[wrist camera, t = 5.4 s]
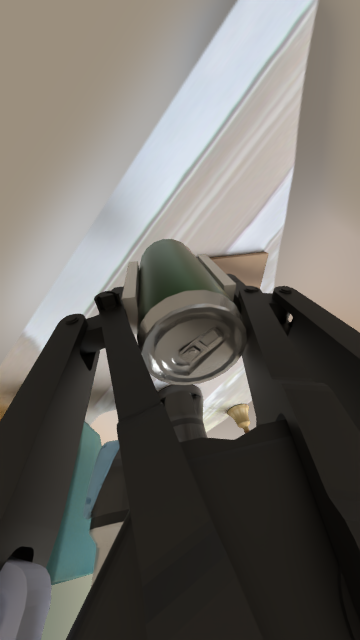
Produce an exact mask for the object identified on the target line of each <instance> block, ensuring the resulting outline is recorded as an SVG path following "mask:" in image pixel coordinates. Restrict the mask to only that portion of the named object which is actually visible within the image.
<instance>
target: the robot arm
mask: <svg viewBox="0 0 360 640" xmlns="http://www.w3.org/2000/svg"><path fill="white" fill-rule="evenodd" d="M198 260H199V261H200V263H201V264H202V265H203V266H204V267H205V269H206V270H207V271H208V272H209V273H210V275H211V276H212V277H213V278H214V279H215V281H216V282H217V283H218V284H219V285H220V287H221V288H222V289H223V290H224V291H225V293H226V294H227V295H228V296H229V298H230V299H231V300H232V301H233V302H234V304H235V305H236V307H237V309H238V311H239V312H240V314H241V321H242V323H243V325H244V327H245V328H246V335H247V343H246V346H245V349H244V352H243V354H242V358H243V362H244V367H245V371H246V375H247V379H248V384H249V388H250V392H251V396H252V401H253V405H254V409H255V413H256V420H257V422H256V427H255V428H254V429H252V430H251V431H249V432H247V433H246V434H244V435H242V436H241V437H239V438H237V439H235V440H227V439H216V438H207V435H206V431H205V428H204V424H203V396H202V393H201V390H200V389H199V388H198V387H196V386H194V385H172V386H169V387H166V388H164V389H162V390H160V391H159V392H158V393H157V391H156V389H155V386H154V384H153V381H152V379H151V376H150V374H149V371H148V369H147V366H146V364H145V361H144V359H143V356H142V354H141V351H140V349H139V347H138V344H137V342H136V339H135V337H134V334H137V322H138V297H139V272H140V271H139V266H138V261H137V262H129V264H128V269H127V274H126V279H125V284H124V287H117V288H114V289H113V290H112V291H105V292H102V293H100V294H98V295H96V296H95V298H94V300H95V303H96V305H97V308H98V310H99V315H97V316H94V317H91V318H88V319H86V318H85V316H84V315H83V314H73V315H69V316H66V317H65V318H63V319H62V320H61V321H60V322H59V323H58V325H57V327H56V328H55V330H54V332H53V333H52V335H51V337H50V338H49V340H48V342H47V343H46V345H45V347H44V348H43V350H42V352H41V354H40V355H39V357H38V359H37V360H36V362H35V364H34V365H33V367H32V369H31V370H30V372H29V374H28V375H27V377H26V379H25V381H24V382H23V384H22V386H21V387H20V389H19V391H18V392H17V394H16V396H15V397H14V399H13V401H12V402H11V404H10V406H9V408H8V409H7V411H6V413H5V414H4V416H3V418H2V419H1V421H0V640H41V636H42V632H43V628H44V624H45V620H46V617H47V614H48V611H49V609H50V602H51V580H50V575H49V573H48V571H47V569H46V566H47V563H48V561H49V558H50V555H51V552H52V549H53V546H54V544H55V541H56V538H57V535H58V532H59V528H60V524H61V521H62V517H63V513H64V509H65V505H66V501H67V496H68V492H69V487H70V483H71V479H72V474H73V470H74V465H75V461H76V456H77V452H78V447H79V443H80V438H81V434H82V429H83V425H84V421H85V416H86V412H87V407H88V403H89V398H90V394H91V389H92V385H93V380H94V376H95V371H96V367H97V363H98V358H99V354H100V350H101V349H103V348H106V353H107V359H108V364H109V370H110V375H111V381H112V386H113V392H114V397H115V403H116V408H117V414H118V421H119V422H118V424H117V434H118V440H115V441H109V442H107V443H105V444H104V445H103V446H102V447H101V449H100V451H99V453H98V456H97V459H96V462H95V465H94V468H93V472H92V475H91V479H90V483H89V486H88V491H87V497H86V501H85V505H84V510H83V517H84V518H86V519H87V520H89V519H90V518H91V522H90V529H89V535H90V536H91V538H92V539H93V541H94V543H95V545H96V554H95V562H94V569H93V577H92V585H91V589H90V592H89V593H88V595H87V597H86V599H85V602H84V604H83V606H82V608H81V610H80V612H79V614H78V616H77V618H76V620H75V622H74V624H73V626H72V628H71V630H70V632H69V634H68V636H67V638H66V640H360V333H359V332H358V331H357V330H355V329H354V328H352V327H350V326H349V325H347V324H346V323H345V322H343V321H342V320H340V319H338V318H337V317H336V316H334V315H332V314H331V313H329V312H328V311H327V310H325V309H324V308H322V307H321V306H319V305H318V304H316V303H315V302H313V301H312V300H310V299H308V298H307V297H306V296H304V295H303V294H301V293H299V292H298V291H297V290H295V289H293V288H290V287H288V286H286V287H285V286H279V287H276V288H274V291H273V294H270V293H262V291H261V290H260V289H259V288H257V287H255V286H246V285H245V284H244V283H243V282H242V281H241V280H239V279H238V278H237V277H236V276H235V275H232V274H225V273H224V272H223V271H222V270H221V269H220V268H219V267H218V266H217V265H216V264H215V263H214V262H213V261H212V260H211V259H210V258H209V257H208V256H207V255H206V254H203V255H198ZM290 314H291V315H292V316H293V319H292V321H291V322H289V321H288V318H289V315H290Z"/></svg>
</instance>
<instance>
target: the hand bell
mask: <svg viewBox="0 0 360 640" xmlns="http://www.w3.org/2000/svg"><path fill="white" fill-rule="evenodd" d="M248 410H249V406H248V405H246V404H240V405H236V406H234V407H232V408H230V409H229V410H228V412H227V414H228V415H229V416H231V417H232V418H233V419H234V420H235V422H236V423H237V425H238V427H240V428H243V429H244V432H245V434H246V433H247V432H249V429H248V426H249V424H250V421H249V417H248Z"/></svg>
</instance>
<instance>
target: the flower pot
mask: <svg viewBox="0 0 360 640" xmlns="http://www.w3.org/2000/svg"><path fill="white" fill-rule="evenodd" d="M101 447H102V446H101V440H100V436H99V434H98V433H97V432H95V431H94V430H93V429H92V428H91V427H90V426H89V425H88V424H87V423H85V422H84V425H83V429H82V434H81V438H80V443H79V447H78V452H77V456H76V461H75V465H74V470H73V474H72V479H71V483H70V487H69V492H68V496H67V501H66V505H65V509H64V513H63V517H62V521H61V524H60V528H59V532H58V535H57V538H56V541H55V544H54V546H53V549H52V552H51V555H50V558H49V561H48V563H47V566H46V569H47V571H48V573H49V575H50V580H51V585H54V584H58V583H61V582H65V581H69V580H72V579H76V578H79V577H82V576H86V575H89V574H93V569H94V562H95V554H96V545H95V543H94V541H93V539H92V538H91V536H90V535H89V529H90V522H91V518H90V519H89V520H87V519H86V518H84V517H83V510H84V505H85V501H86V497H87V491H88V486H89V483H90V479H91V475H92V472H93V468H94V465H95V462H96V459H97V456H98V453H99V451H100V449H101Z"/></svg>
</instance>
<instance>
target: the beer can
mask: <svg viewBox="0 0 360 640" xmlns="http://www.w3.org/2000/svg"><path fill="white" fill-rule="evenodd" d="M137 341H138V347H139V349H140V351H141V354H142V356H143V359H144V361H145V364H146V366H147V369H148V371H149V373H150V374H151V375H153V376H154V377H155V378H157V379H158V380H160V381H163V382H166V383H170V384H175V385H191V384H198V383H202V382H205V381H208V380H211V379H214V378H216V377H217V376H219V375H221V374H223V373H225V372H226V371H227V370H228V369H230V368H231V367H232V366H233V365H234V364H235V363H236V362H237V361H238V359H239V358H240V357H241V355H242V354H243V352H244V349H245V346H246V343H247V335H246V328H245V327H244V325H243V323H242V321H241V314H240V312H239V311H238V309H237V307H236V305H235V304H234V302H233V301H232V300H231V299H230V298H229V296H228V295H227V294H226V293H225V291H224V290H223V289H222V288H221V287H220V285H219V284H218V283H217V282H216V281H215V279H214V278H213V277H212V276H211V275H210V273H209V272H208V271H207V270H206V269H205V267H204V266H203V265H202V264H201V263H200V261H199V260H198V259H197V258H196V257H195V255H194V254H193V253H192V252H191V250H190V249H189V248H188V247H187V246H185V245H184V244H183V243H182V242H179V241H176V240H173V239H162V240H160V241H157V242H154V243H153V244H152V245H150V246H149V247H148V248H147V249H146V250H145V252H144V254H143V255H142V258H141V262H140V272H139V297H138V322H137Z"/></svg>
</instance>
